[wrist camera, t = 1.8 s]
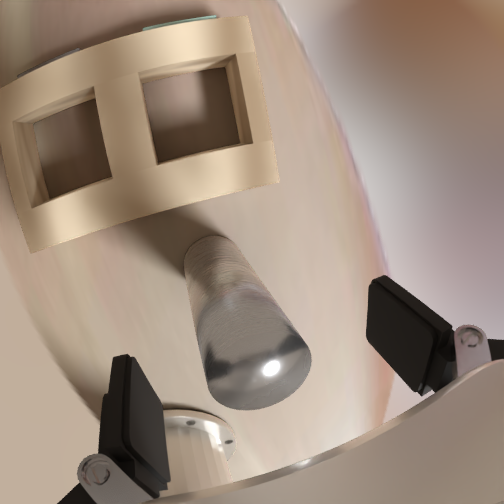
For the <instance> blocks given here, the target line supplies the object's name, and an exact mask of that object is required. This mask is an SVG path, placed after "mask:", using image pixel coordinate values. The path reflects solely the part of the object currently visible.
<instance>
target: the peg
mask: <svg viewBox="0 0 504 504" xmlns="http://www.w3.org/2000/svg"><path fill="white" fill-rule="evenodd" d="M184 272H185V278H186V283H187V289H188V295H189V300H190V305H191V311H192V316H193V321H194V326H195V331H196V336H197V340H198V345H199V350H200V354H201V359H202V363H203V368H204V372H205V376H206V381H207V385H208V389H209V391H210V393H211V395H212V396H213V398H214V399H215V400H216V401H218V402H219V403H220V404H222V405H224V406H226V407H229V408H232V409H237V410H256V409H261V408H265V407H269V406H271V405H274V404H276V403H278V402H280V401H282V400H284V399H285V398H287V397H289V396H290V395H291V394H292V393H294V392H295V391H296V390H297V389H298V388H299V387H300V386H301V385H302V383H303V382H304V380H305V379H306V377H307V375H308V373H309V371H310V367H311V353H310V350H309V348H308V346H307V344H306V343H305V342H304V340H303V339H302V337H301V336H300V335H299V333H298V332H297V330H296V329H295V328H294V326H293V325H292V323H291V322H290V321H289V319H288V318H287V316H286V315H285V314H284V312H283V311H282V309H281V308H280V307H279V305H278V304H277V302H276V301H275V300H274V298H273V297H272V295H271V294H270V293H269V291H268V290H267V288H266V287H265V285H264V284H263V283H262V281H261V280H260V278H259V277H258V276H257V274H256V273H255V271H254V270H253V269H252V267H251V266H250V264H249V263H248V261H247V260H246V259H245V257H244V256H243V254H242V253H241V251H240V250H239V249H238V247H237V246H236V245H235V244H234V243H233V242H232V241H231V240H229V239H227V238H225V237H222V236H207V237H204V238H201V239H199V240H198V241H196V242H195V243H194V244H193V245H191V247H190V248H189V249H188V251H187V253H186V255H185V258H184Z"/></svg>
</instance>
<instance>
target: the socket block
mask: <svg viewBox="0 0 504 504" xmlns="http://www.w3.org/2000/svg"><path fill="white" fill-rule="evenodd" d="M221 67H225V68H226V73H227V78H228V83H229V89H230V94H231V99H232V104H233V109H234V114H235V119H236V124H237V130H238V135H239V140H240V144H236V145H231V146H226V147H222V148H217V149H212V150H208V151H204V152H199V153H195V154H191V155H187V156H183V157H179V158H175V159H171V160H167V161H164V162H160V163H158V159H157V155H156V150H155V146H154V141H153V136H152V132H151V127H150V122H149V117H148V112H147V107H146V102H145V96H144V91H143V86H142V84H143V83H147V82H150V81H154V80H159V79H163V78H167V77H172V76H176V75H181V74H186V73H191V72H196V71H202V70H208V69H214V68H221ZM17 77H18V79H16V80H14V81H13V82H11V83H9V84H7V85H5V86H4V87H2V88H0V145H1V150H2V156H3V161H4V165H5V170H6V174H7V179H8V183H9V187H10V191H11V194H12V198H13V202H14V205H15V208H16V212H17V215H18V218H19V221H20V225H21V228H22V231H23V233H24V236H25V239H26V242H27V245H28V247H29V250H30V253H31V254H32V253H34V252H37V251H40V250H43V249H45V248H48V247H51V246H54V245H57V244H60V243H62V242H65V241H68V240H71V239H74V238H77V237H80V236H83V235H86V234H89V233H92V232H95V231H98V230H102V229H105V228H108V227H111V226H114V225H117V224H121V223H124V222H127V221H131V220H134V219H137V218H141V217H144V216H148V215H151V214H154V213H158V212H162V211H165V210H169V209H172V208H176V207H180V206H183V205H187V204H191V203H195V202H198V201H202V200H206V199H210V198H214V197H218V196H222V195H226V194H230V193H234V192H238V191H243V190H247V189H251V188H256V187H260V186H264V185H269V184H273V183H278V182H280V180H279V174H278V168H277V162H276V156H275V151H274V145H273V139H272V134H271V128H270V123H269V117H268V112H267V106H266V101H265V96H264V91H263V86H262V81H261V76H260V71H259V66H258V61H257V56H256V51H255V47H254V42H253V37H252V33H251V28H250V24H249V19H248V16H237V17H225V18H216V15H215V16H206V17H199V18H192V19H185V20H179V21H174V22H168V23H163V24H159V25H154V26H150V27H145V28H143V31H142V32H138V33H134V34H130V35H127V36H123V37H120V38H116V39H113V40H110V41H106V42H103V43H100V44H97V45H94V46H91V47H89V48H86V49H83V50H80V48H77V49H74V50H72V51H69V52H67V53H64V54H62V55H60V56H57V57H55V58H53V59H50V60H48V61H46V62H44V63H42V64H39V65H37V66H35V67H33V68H31V69H29V70H27V71H25V72H23V73H21V74H19V75H18V76H17ZM94 98H96V103H97V109H98V114H99V119H100V124H101V129H102V134H103V139H104V144H105V148H106V153H107V157H108V161H109V165H110V169H111V173H112V177H110V178H107V179H103V180H100V181H98V182H95V183H92V184H89V185H86V186H83V187H80V188H78V189H75V190H72V191H69V192H67V193H64V194H61V195H59V196H56V197H54V198H51V199H50V198H49V194H48V191H47V187H46V183H45V179H44V175H43V171H42V167H41V163H40V158H39V154H38V149H37V144H36V139H35V133H34V128H33V123H35V122H37V121H40V120H42V119H44V118H46V117H48V116H51V115H53V114H55V113H58V112H60V111H62V110H65V109H67V108H70V107H72V106H75V105H78V104H80V103H83V102H86V101H88V100H91V99H94Z"/></svg>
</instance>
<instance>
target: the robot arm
mask: <svg viewBox="0 0 504 504" xmlns="http://www.w3.org/2000/svg"><path fill="white" fill-rule="evenodd" d="M366 338H367V340H368V342H369V343H370V344H371V345H372V346H373V347H374V348H375V350H376V351H377V352H378V353H379V354H380V355H381V356H382V357H383V358H384V359H385V361H386V362H387V363H388V364H389V365H390V366H391V367H392V368H393V369H394V371H395V372H396V373H397V374H398V375H399V376H400V377H401V378H402V379H403V381H404V382H405V383H406V384H407V385H408V386H409V387H410V388H411V390H412V391H414V392H418V393H419V394H420V395H421V396H423V395H424V394H426V393H428V392H429V391H431V390H433V391H434V392H435V393H434V394H433V395H431V396H430V397H428V398H427V399H425V400H423V401H422V402H420V403H419V404H417V405H416V406H414V407H412V408H411V409H409V410H407V411H406V412H404V413H402V414H401V415H399V416H397V417H396V418H394V419H392V420H390V421H388V422H386V423H384V424H383V425H381V426H379V427H377V428H375V429H373V430H371V431H369V432H367V433H365V434H363V435H361V436H359V437H357V438H355V439H353V440H351V441H349V442H347V443H344V444H342V445H340V446H338V447H335V448H333V449H331V450H329V451H326V452H324V453H321V454H319V455H316V456H314V457H311V458H309V459H306V460H304V461H301V462H298V463H295V464H293V465H290V466H287V467H284V468H281V469H278V470H275V471H272V472H269V473H266V474H262V475H259V476H256V477H252V478H248V479H245V480H241V481H237V482H233V480H232V477H231V474H230V470H229V467H228V464H227V461H228V460H229V459H230V458H231V457H232V455H233V454H234V452H235V450H236V446H237V442H236V438H235V435H234V432H233V430H232V428H231V427H230V426H229V425H228V424H227V423H225V422H224V421H223V420H221V419H219V418H217V417H215V416H212V415H209V414H206V413H202V412H197V411H191V410H177V409H175V410H163V406H162V403H161V401H160V399H159V398H158V396H157V395H156V393H155V391H154V390H153V388H152V386H151V385H150V383H149V381H148V380H147V378H146V376H145V374H144V373H143V371H142V369H141V367H140V366H139V364H138V362H137V360H136V358H135V357H130V356H129V355H128V354H125V355H120V356H116V357H113V361H112V368H111V375H110V383H109V392H108V394H105V395H104V397H103V403H102V412H101V422H100V434H99V449H98V454H93V455H89V456H87V457H86V458H84V459H83V461H82V462H81V463H80V465H79V467H78V472H77V475H78V480H79V482H80V483H79V484H78V485H76V486H75V487H74V488H73V489H72V490H71V491H70V492H69V493H68V494H67V495H66V496H65V497H64V498H63V499H62V500H61V501H60V502H59V503H57V504H504V340H496V339H487V337H486V334H485V333H484V331H483V330H482V329H480V328H479V327H477V326H474V325H462V326H460V327H458V328H457V329H456V331H453V330H452V325H450V324H449V323H448V322H447V321H445V320H444V319H443V318H442V317H440V316H439V315H438V314H436V313H435V312H434V311H433V310H431V309H430V308H429V307H428V306H426V305H425V304H424V303H422V302H421V301H420V300H418V299H417V298H416V297H414V296H413V295H412V294H411V293H409V292H408V291H407V290H405V289H404V288H403V287H401V286H400V285H398V284H397V283H396V282H394V281H393V280H392V279H390V278H389V277H388V276H386V275H383V276H381V277H378V278H376V279H373V280H372V282H371V284H370V285H369V291H368V312H367V327H366Z"/></svg>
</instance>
